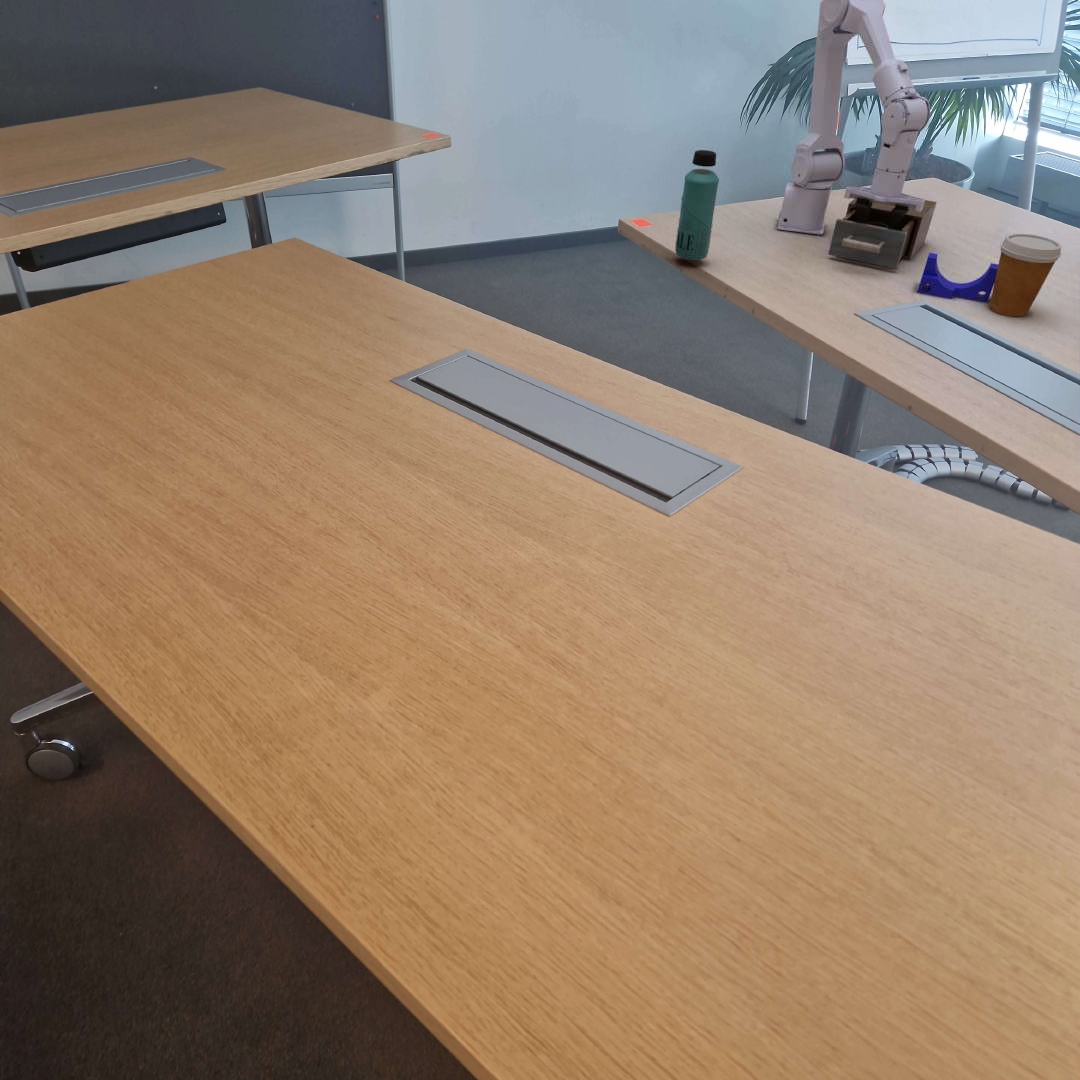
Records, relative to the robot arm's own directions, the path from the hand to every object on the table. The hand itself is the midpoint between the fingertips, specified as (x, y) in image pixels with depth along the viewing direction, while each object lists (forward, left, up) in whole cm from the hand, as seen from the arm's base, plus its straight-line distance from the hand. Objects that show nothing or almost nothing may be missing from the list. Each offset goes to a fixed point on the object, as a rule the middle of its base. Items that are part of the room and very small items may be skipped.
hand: (872, 241), depth 173 cm
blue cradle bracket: (+15, -15, -3) cm, 21 cm away
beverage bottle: (-33, -17, -3) cm, 37 cm away
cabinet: (+3, +11, -3) cm, 12 cm away
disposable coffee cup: (+24, -19, -3) cm, 31 cm away
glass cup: (0, 0, -1) cm, 1 cm away
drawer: (0, -2, -2) cm, 3 cm away
